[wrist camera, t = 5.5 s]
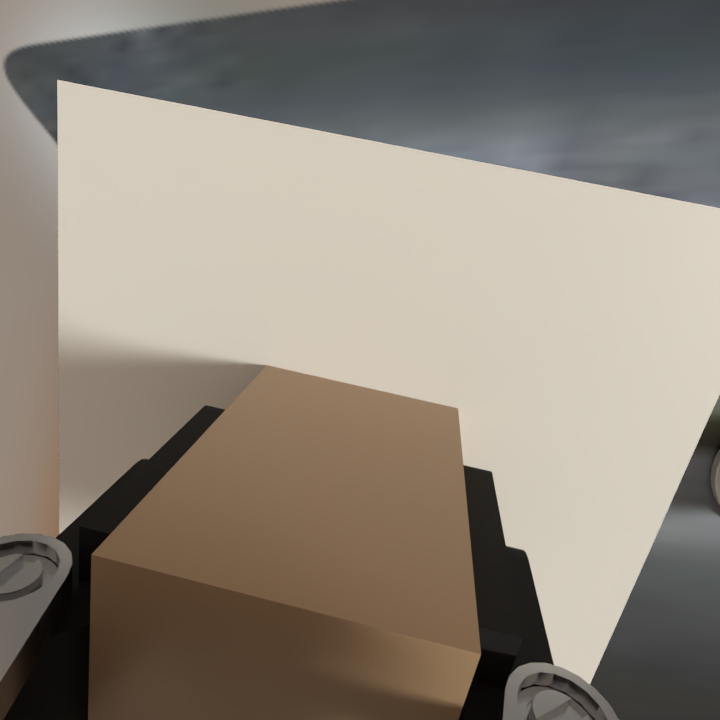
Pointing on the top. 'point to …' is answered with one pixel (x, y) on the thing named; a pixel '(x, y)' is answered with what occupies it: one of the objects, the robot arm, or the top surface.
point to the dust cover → (358, 404)
